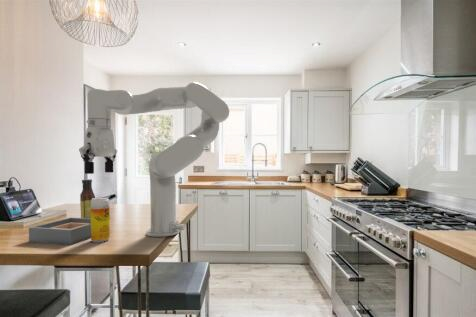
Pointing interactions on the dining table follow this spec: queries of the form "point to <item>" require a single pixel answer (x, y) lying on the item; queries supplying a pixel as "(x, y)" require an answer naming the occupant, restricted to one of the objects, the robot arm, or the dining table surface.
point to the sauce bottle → (86, 198)
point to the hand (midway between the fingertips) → (99, 172)
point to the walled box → (62, 231)
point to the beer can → (100, 219)
